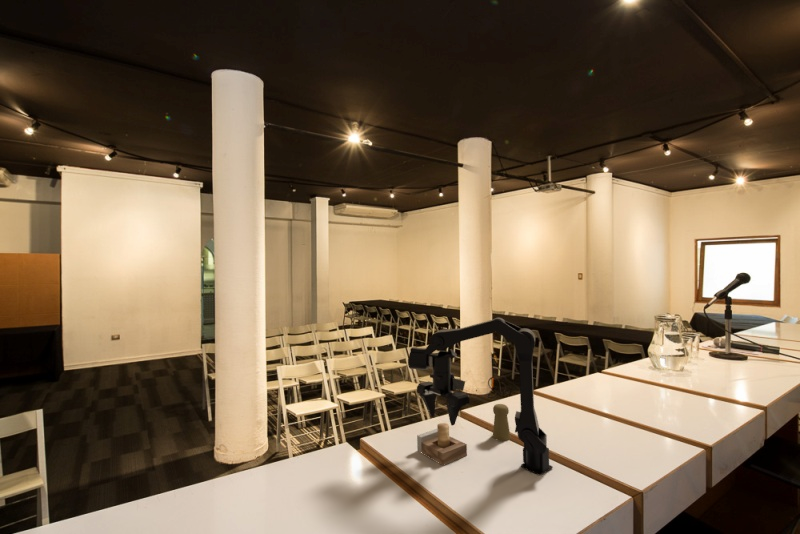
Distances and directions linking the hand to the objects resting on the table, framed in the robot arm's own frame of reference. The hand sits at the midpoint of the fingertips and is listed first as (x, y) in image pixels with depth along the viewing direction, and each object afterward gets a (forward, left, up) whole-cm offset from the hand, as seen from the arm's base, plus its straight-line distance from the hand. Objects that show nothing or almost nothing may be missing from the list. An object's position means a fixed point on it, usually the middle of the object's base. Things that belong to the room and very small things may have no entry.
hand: (442, 420), depth 123 cm
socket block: (0, 0, -11) cm, 11 cm away
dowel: (0, 0, -10) cm, 10 cm away
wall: (+6, 0, -11) cm, 12 cm away
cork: (-3, -24, -11) cm, 27 cm away
